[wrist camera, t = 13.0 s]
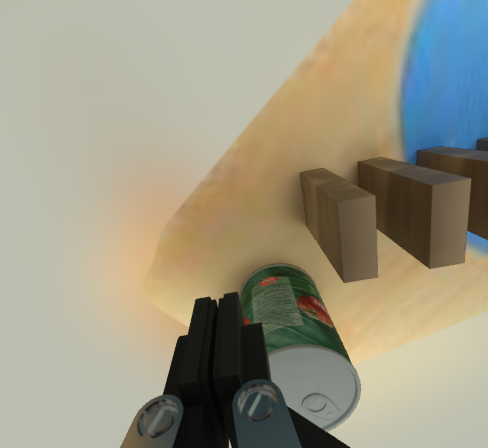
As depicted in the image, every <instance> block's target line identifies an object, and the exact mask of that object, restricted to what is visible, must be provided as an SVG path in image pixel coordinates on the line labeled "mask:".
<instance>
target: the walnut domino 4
mask: <svg viewBox="0 0 488 448" xmlns="http://www.w3.org/2000/svg"><path fill="white" fill-rule="evenodd" d="M477 150H479V151H488V138H483V139H478V140H477Z"/></svg>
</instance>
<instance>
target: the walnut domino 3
mask: <svg viewBox="0 0 488 448" xmlns="http://www.w3.org/2000/svg"><path fill="white" fill-rule="evenodd" d="M417 166H420V167H425V168H429V169H433V170H437V171H441V172H446V173H450V174H454V175H458V176H462V177H466V178H471V189H470V201H469V213H468V225H467V231H469V232H471V233H474V234H476V235H478V236H480V237H482V238H484V239H486V240H488V151H479V150H470V149H461V148H452V147H443V146H440V147H434V148H429V149H424V150H418V151H417Z"/></svg>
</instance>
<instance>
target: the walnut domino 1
mask: <svg viewBox="0 0 488 448" xmlns="http://www.w3.org/2000/svg"><path fill="white" fill-rule="evenodd" d="M300 175H301V184H302V192H303V201H304V209H305V218H306V226H307V227H308V229H309V231H310V232H311V234H312V235H313V237H314V238H315V240H316V241H317V243H318V244H319V246H320V247H321V249H322V250H323V252H324V253H325V255H326V256H327V258H328V259H329V261H330V263H331V264H332V266H333V267H334V269H335V270H336V272H337V273H338V275H339V276H340V278H341V279H342V281H343V282H344V283H347V282H353V281H359V280H365V279H371V278H377V277H378V265H377V233H376V201H375V195H373V194H371V193H369V192H367V191H365V190H364V189H362V188H360V187H358V186H356V185H354V184H352V183H350V182H349V181H347V180H345V179H343V178H341V177H339V176H337V175H335V174H333V173H332V172H330V171H328V170H326V169H324V168H321V169H315V170H310V171H305V172H300Z"/></svg>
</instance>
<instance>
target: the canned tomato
mask: <svg viewBox="0 0 488 448" xmlns="http://www.w3.org/2000/svg"><path fill="white" fill-rule="evenodd" d="M239 299H240V304H241V308H242V313H243V317H244V322H245V325H247V324H253V323H259V322H262V326H263V331H264V336H265V341H266V347H267V353H268V359H269V366H270V373H271V380H272V382H273V383H275V384H276V385H277V386H278V387H279V388H280V390H281V392H282V394H283V396H284V399H285V402H286V405H287V406H288V407H290V408H291V409H293V410H294V411H296V412H297V413H299V414H300V415H302V416H303V417H305V418H306V419H308V420H309V421H311V422H312V423H314V424H315V425H317V426H318V427H320V428H322V429H323V430H325V431H326V432H328V431H330V430H332V429H334V428H336V427H337V426H339V425H340V424H342V423H343V422H344V421H345V420H346V419H347V418H348V417H349V416H350V415H351V414H352V413H353V411H354V410H355V408H356V406H357V404H358V402H359V399H360V394H361V384H360V379H359V376H358V374H357V371H356V369H355V368H354V367H353V365H352V363H351V361H350V359H349V356H348V354H347V351H346V350H345V348H344V345H343V343H342V341H341V339H340V337H339V334H338V333H337V331H336V328H335V326H334V324H333V322H332V320H331V318H330V316H329V314H328V312H327V309H326V307H325V305H324V303H323V301H322V299H321V297H320V294H319V292H318V291H317V288H316V285H315V283H314V281H313V280H312V279H311V277H310V276H309V275H308V274H307V273H306V272H305V271H303V270H301V269H300V268H298V267H295V266H292V265H287V264H273V265H268V266H265V267H263V268H260V269H258V270H257V271H255V272H254V273H252V274H251V275H250V276H249V277H248V278H247V280H246V281H245V282H244V284H243V286H242V288H241V291H240V296H239Z"/></svg>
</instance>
